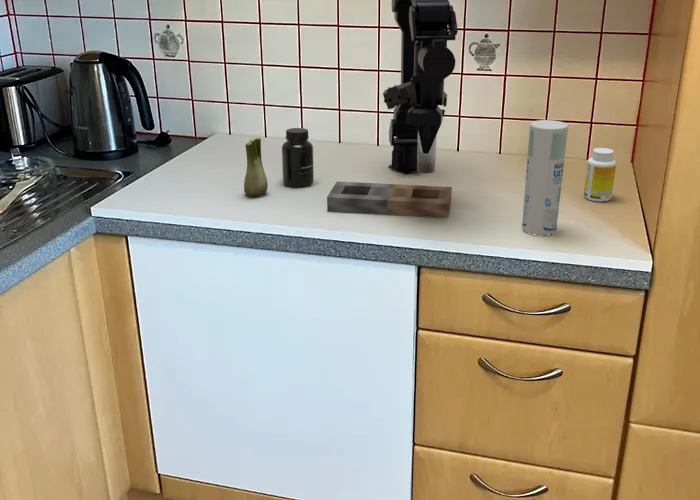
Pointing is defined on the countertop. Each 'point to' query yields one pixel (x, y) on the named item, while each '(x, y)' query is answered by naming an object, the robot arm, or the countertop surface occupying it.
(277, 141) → the countertop surface
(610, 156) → the supplement bottle
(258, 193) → the fennel bulb
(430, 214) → the pin dock plate
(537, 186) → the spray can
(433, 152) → the lock pin
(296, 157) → the supplement bottle
